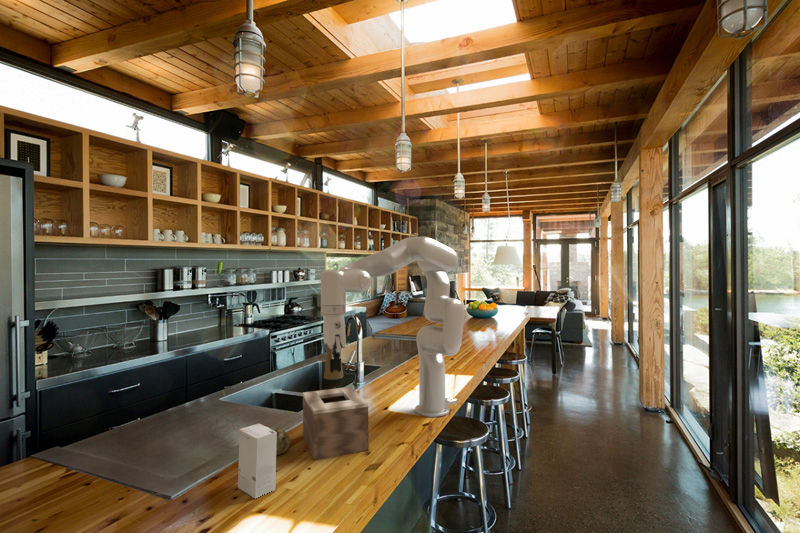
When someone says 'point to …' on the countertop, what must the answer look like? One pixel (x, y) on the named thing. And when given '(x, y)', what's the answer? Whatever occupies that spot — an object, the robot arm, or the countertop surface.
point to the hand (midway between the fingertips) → (333, 369)
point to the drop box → (335, 422)
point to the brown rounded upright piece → (327, 373)
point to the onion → (281, 441)
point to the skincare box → (257, 460)
